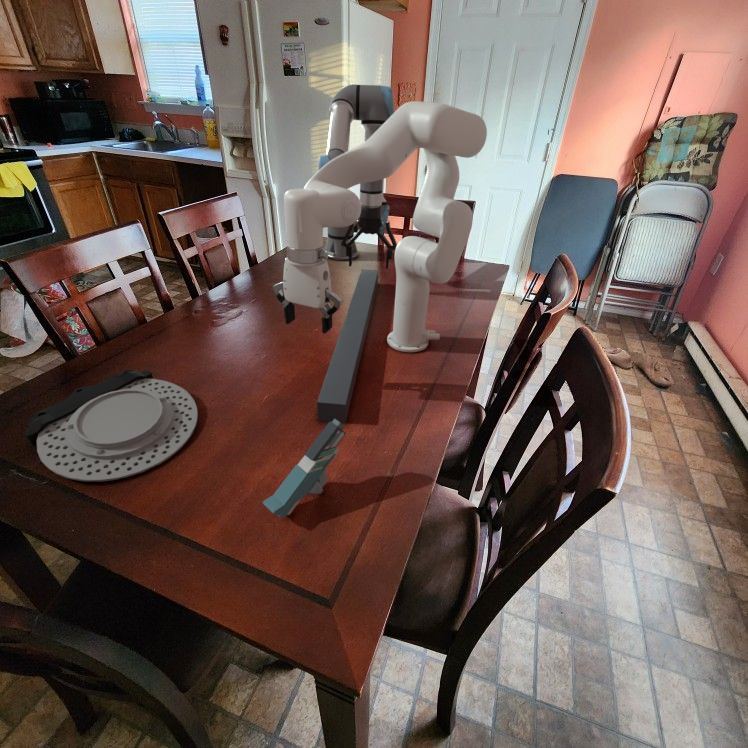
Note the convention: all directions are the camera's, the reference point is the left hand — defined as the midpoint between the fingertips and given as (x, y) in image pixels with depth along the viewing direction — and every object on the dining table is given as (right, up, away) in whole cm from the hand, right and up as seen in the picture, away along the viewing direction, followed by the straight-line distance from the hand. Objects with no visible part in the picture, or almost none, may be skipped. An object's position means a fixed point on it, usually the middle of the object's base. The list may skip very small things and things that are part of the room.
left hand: (368, 266), depth 152 cm
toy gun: (-10, -63, -74) cm, 98 cm away
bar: (-4, -27, -23) cm, 36 cm away
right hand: (-13, -29, -56) cm, 64 cm away
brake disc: (-53, -52, -61) cm, 96 cm away
